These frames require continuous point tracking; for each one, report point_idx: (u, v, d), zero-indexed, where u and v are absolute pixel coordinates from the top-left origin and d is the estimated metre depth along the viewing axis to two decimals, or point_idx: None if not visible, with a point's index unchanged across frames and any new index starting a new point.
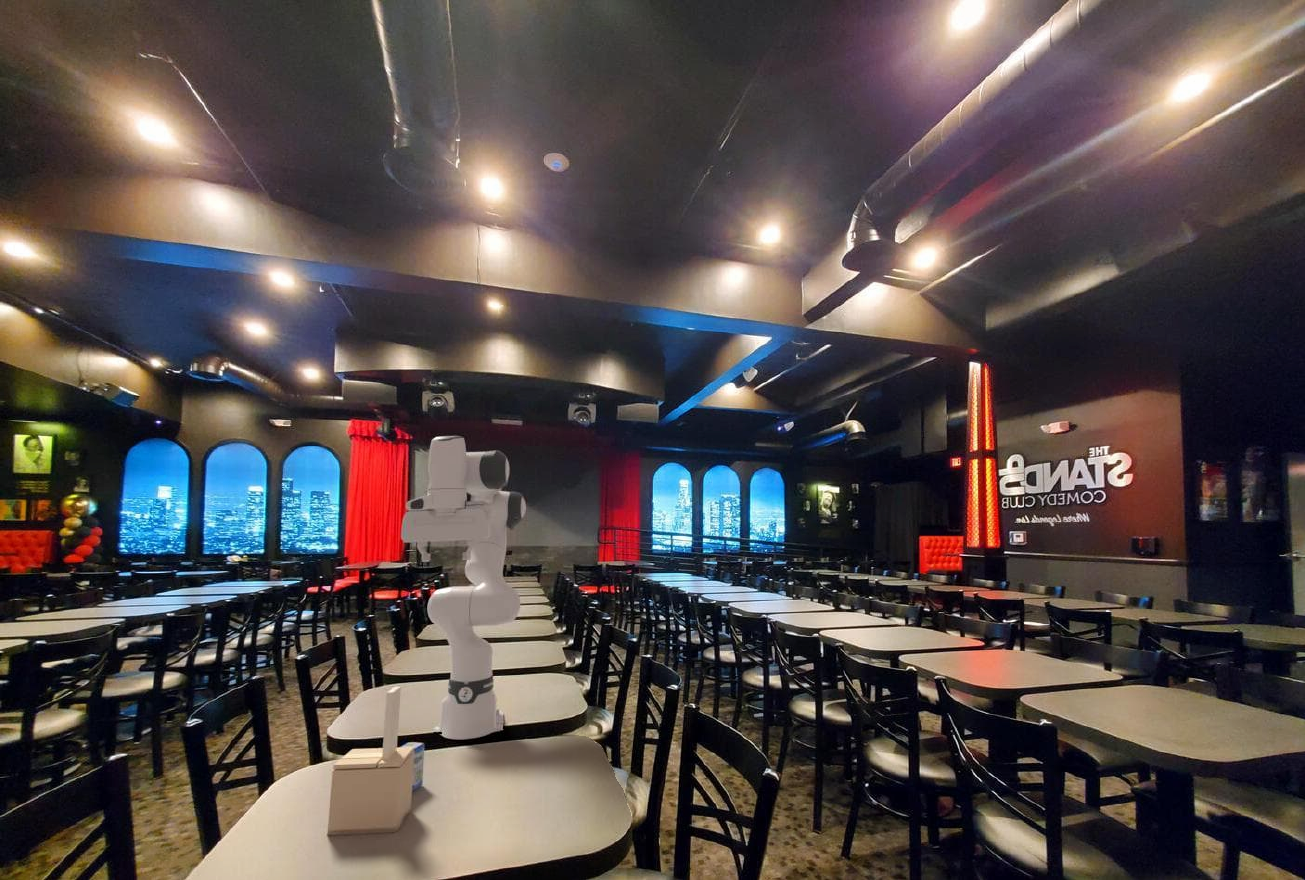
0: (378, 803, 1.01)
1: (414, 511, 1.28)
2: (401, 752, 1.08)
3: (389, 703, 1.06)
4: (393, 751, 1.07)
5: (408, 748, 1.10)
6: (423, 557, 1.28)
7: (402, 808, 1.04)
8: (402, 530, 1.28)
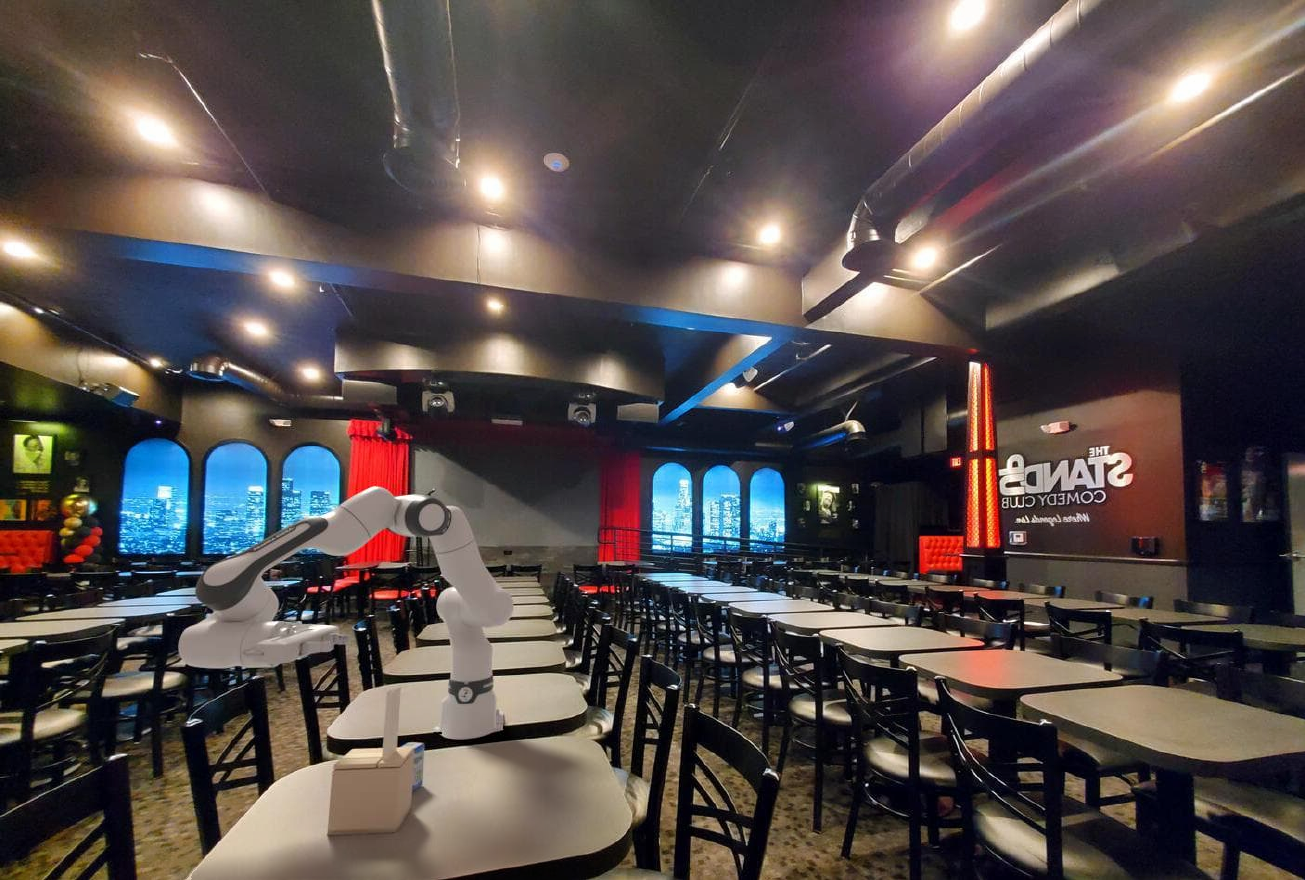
0: (378, 803, 1.01)
1: None
2: (401, 752, 1.08)
3: (389, 703, 1.06)
4: (393, 751, 1.07)
5: (408, 748, 1.10)
6: (344, 643, 1.16)
7: (402, 808, 1.04)
8: None
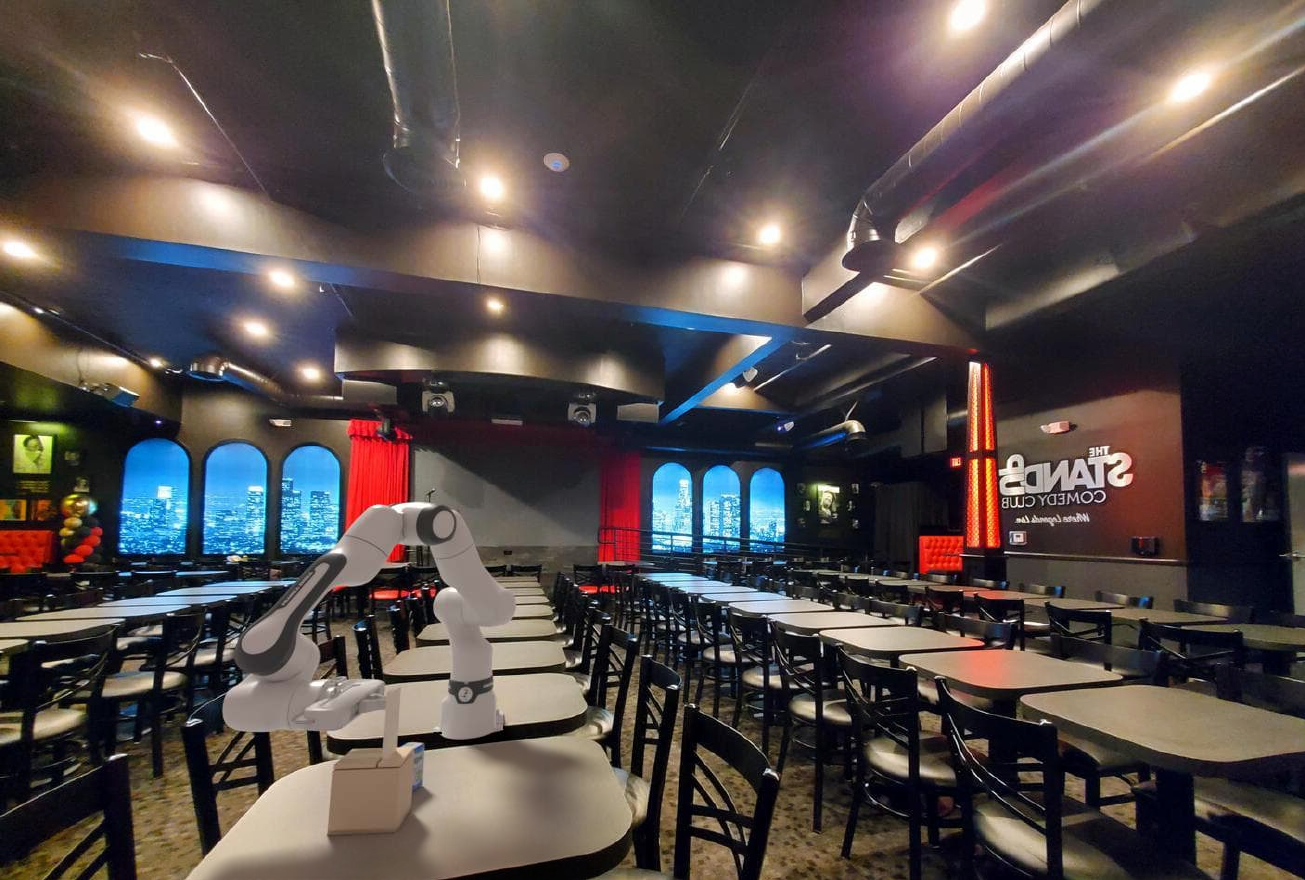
0: (378, 803, 1.01)
1: None
2: (401, 752, 1.08)
3: (389, 703, 1.06)
4: (393, 751, 1.07)
5: (408, 748, 1.10)
6: None
7: (402, 808, 1.04)
8: None
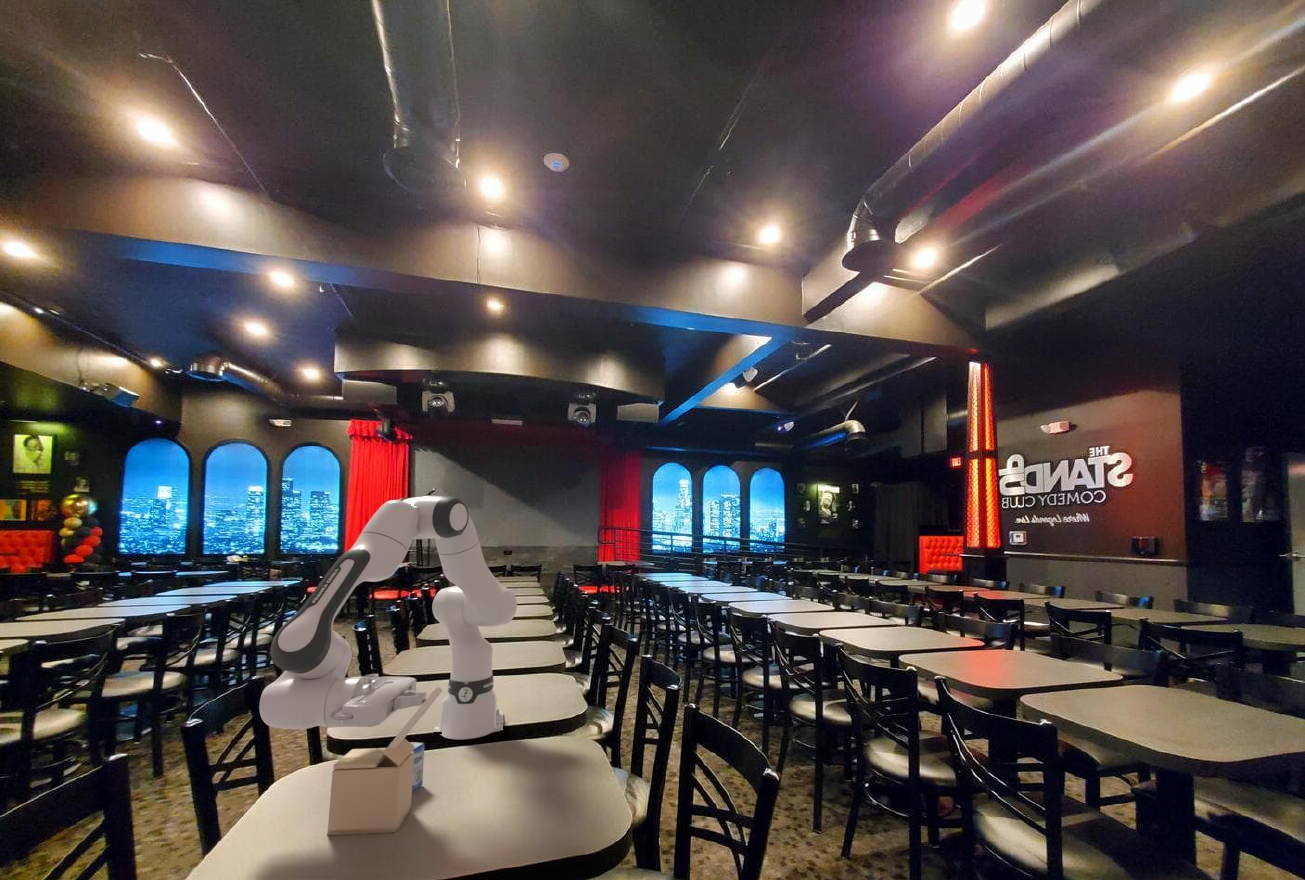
0: (378, 803, 1.01)
1: None
2: (404, 747, 1.08)
3: (427, 703, 1.07)
4: (400, 742, 1.07)
5: (410, 745, 1.10)
6: None
7: (402, 808, 1.04)
8: None
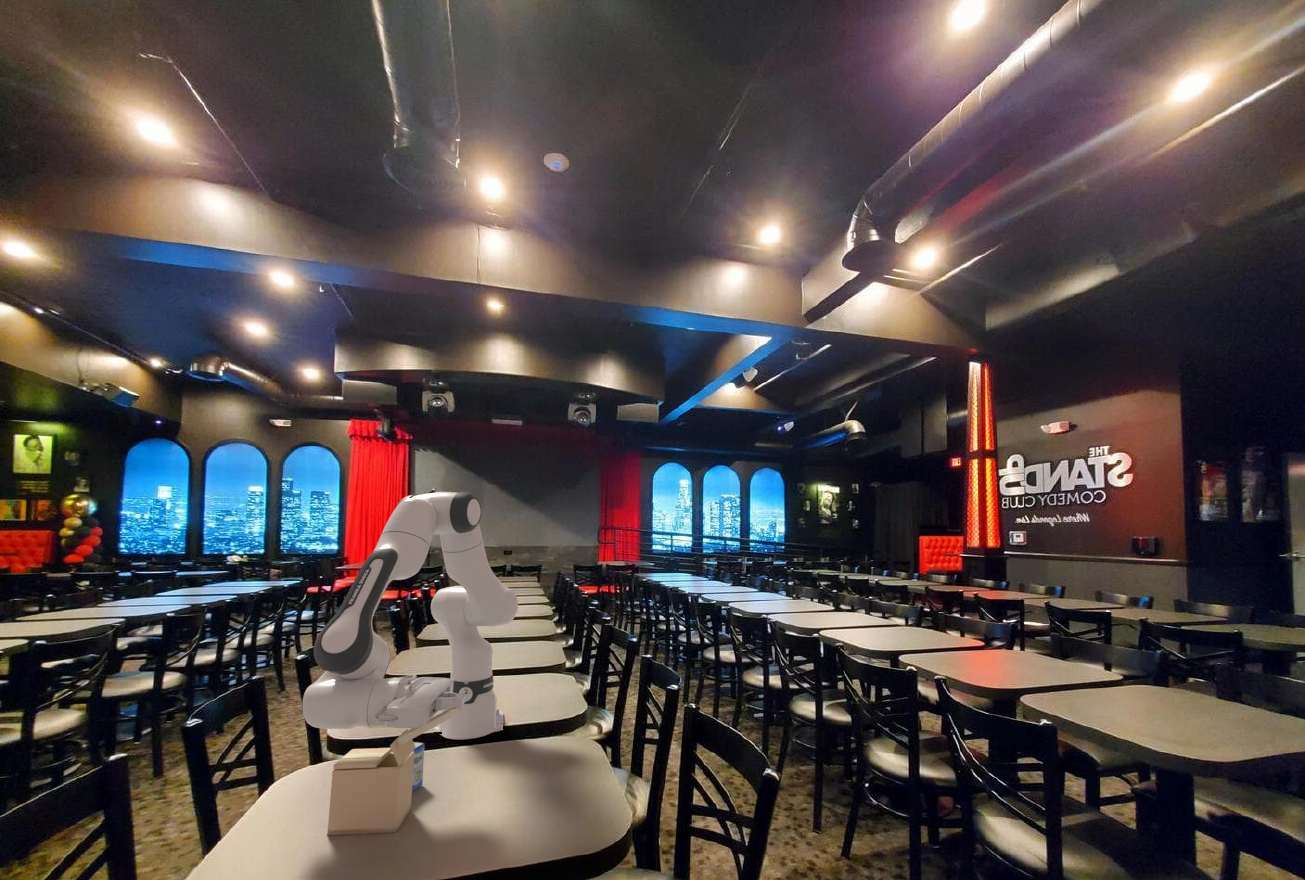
0: (378, 803, 1.01)
1: None
2: (408, 745, 1.08)
3: (447, 716, 1.06)
4: None
5: (412, 745, 1.10)
6: None
7: (402, 808, 1.04)
8: None
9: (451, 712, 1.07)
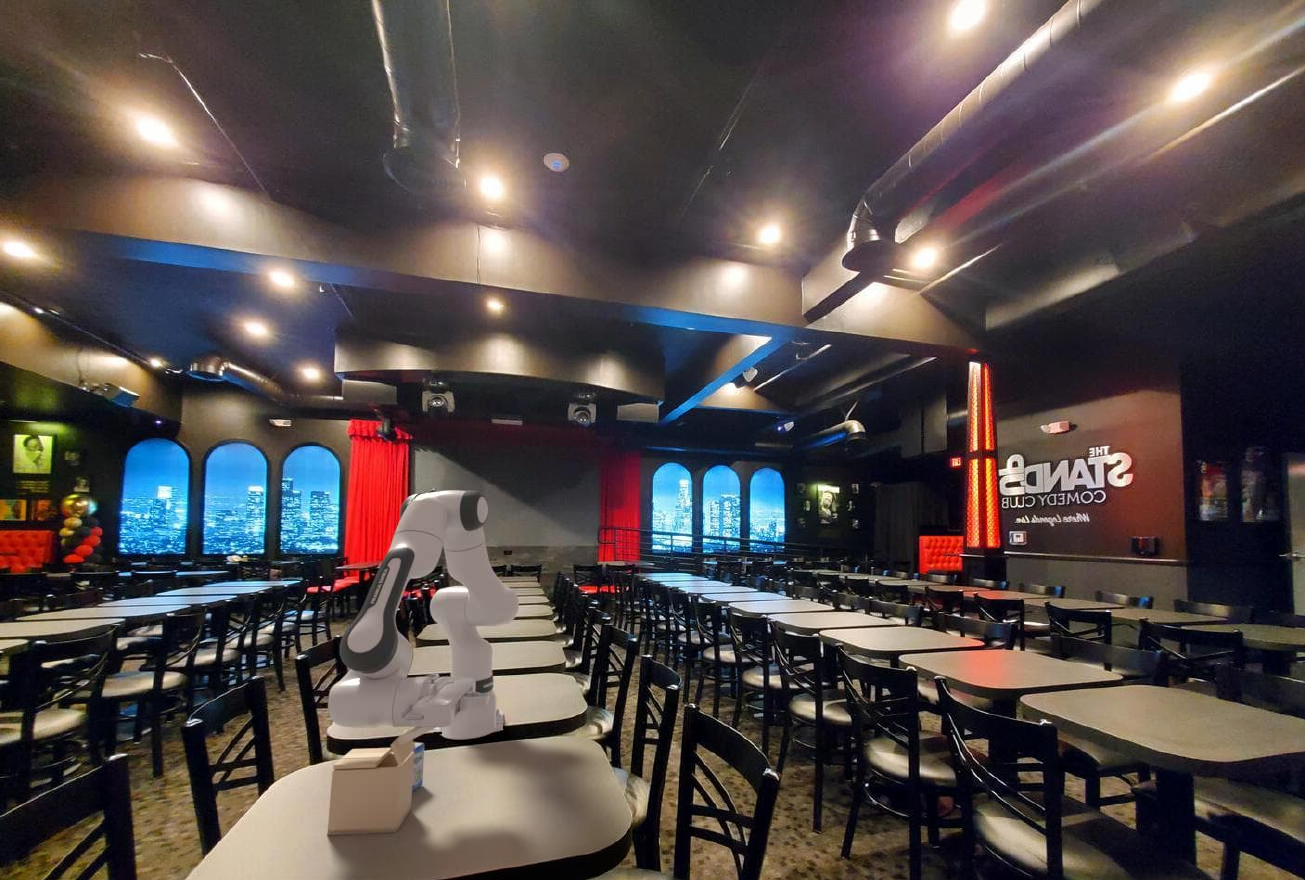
0: (378, 803, 1.01)
1: None
2: (408, 745, 1.08)
3: None
4: None
5: (412, 745, 1.10)
6: None
7: (402, 808, 1.04)
8: None
9: None
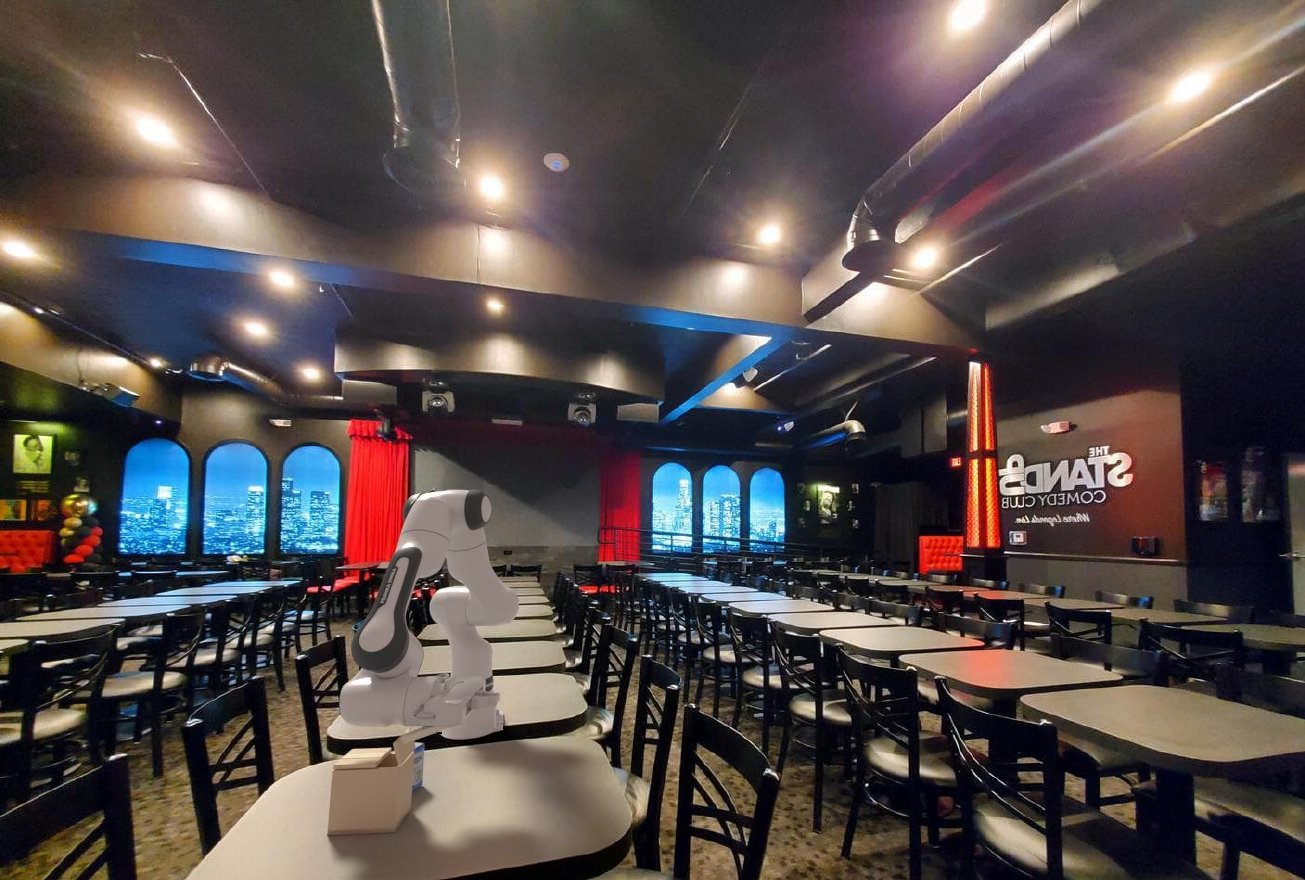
0: (378, 803, 1.01)
1: None
2: (409, 745, 1.08)
3: None
4: None
5: (413, 744, 1.10)
6: None
7: (402, 808, 1.04)
8: None
9: None
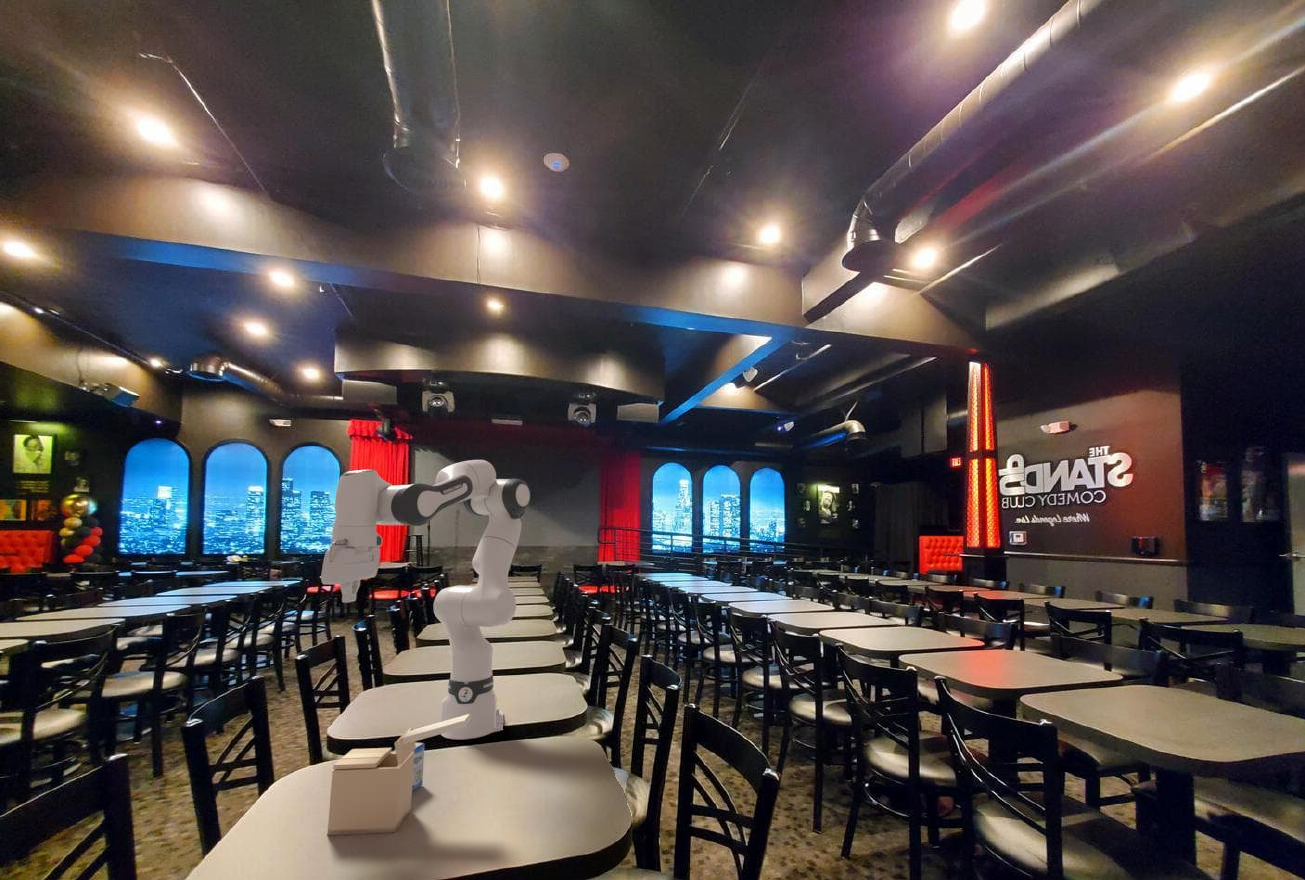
0: (378, 803, 1.01)
1: None
2: (409, 745, 1.08)
3: (454, 726, 1.06)
4: None
5: (413, 745, 1.10)
6: None
7: (402, 808, 1.04)
8: None
9: (459, 723, 1.06)
